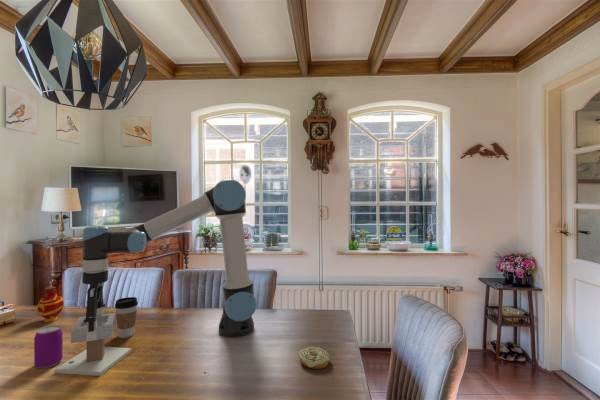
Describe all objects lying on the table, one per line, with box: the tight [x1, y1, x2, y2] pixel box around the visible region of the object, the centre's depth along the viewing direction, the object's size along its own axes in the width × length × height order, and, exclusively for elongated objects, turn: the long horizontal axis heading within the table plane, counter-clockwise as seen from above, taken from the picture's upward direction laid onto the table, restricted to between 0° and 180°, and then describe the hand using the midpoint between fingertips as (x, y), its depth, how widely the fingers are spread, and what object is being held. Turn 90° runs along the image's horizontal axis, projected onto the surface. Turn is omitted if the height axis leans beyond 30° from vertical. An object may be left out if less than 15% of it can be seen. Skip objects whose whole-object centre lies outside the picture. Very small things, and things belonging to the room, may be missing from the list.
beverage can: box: [33, 324, 64, 369], centre depth 109 cm, size 8×8×12 cm
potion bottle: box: [36, 285, 65, 323], centre depth 147 cm, size 10×10×15 cm
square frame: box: [70, 312, 117, 344], centre depth 110 cm, size 12×12×4 cm
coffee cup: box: [114, 296, 138, 339], centre depth 131 cm, size 8×8×15 cm
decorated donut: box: [298, 346, 331, 370], centre depth 111 cm, size 10×11×4 cm
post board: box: [54, 338, 133, 377], centre depth 110 cm, size 16×16×8 cm
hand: (94, 332), depth 110 cm, fingers closed on square frame, 11 cm apart
